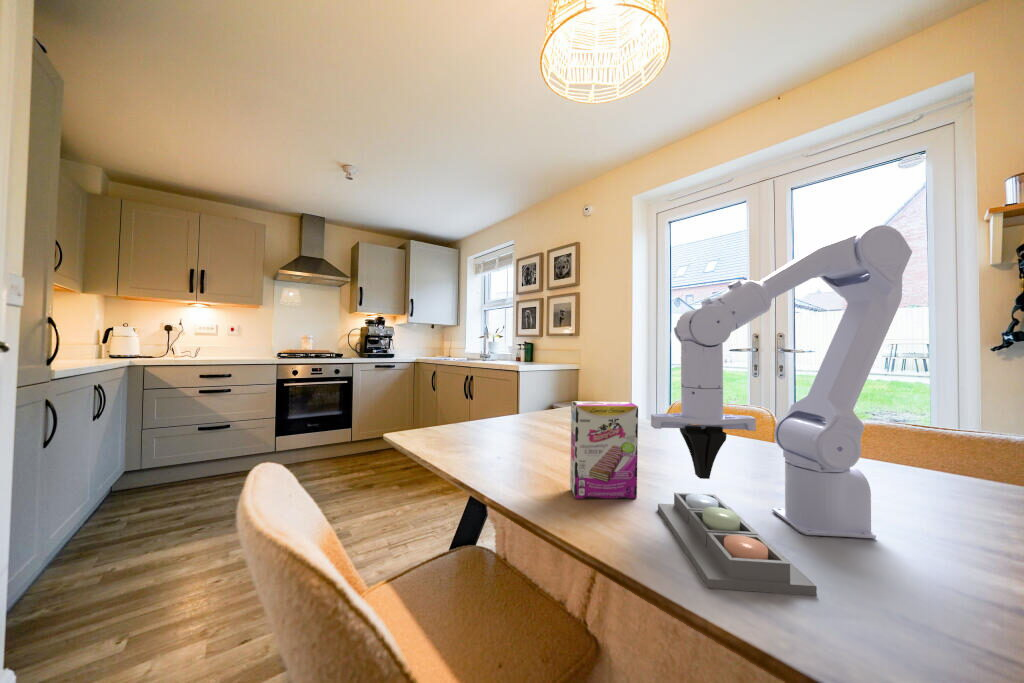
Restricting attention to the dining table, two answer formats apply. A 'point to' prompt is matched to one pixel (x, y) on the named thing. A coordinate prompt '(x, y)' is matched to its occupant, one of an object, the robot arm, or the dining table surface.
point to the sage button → (721, 519)
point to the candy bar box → (604, 449)
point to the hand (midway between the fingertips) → (702, 476)
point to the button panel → (719, 564)
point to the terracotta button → (745, 547)
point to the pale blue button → (700, 501)
